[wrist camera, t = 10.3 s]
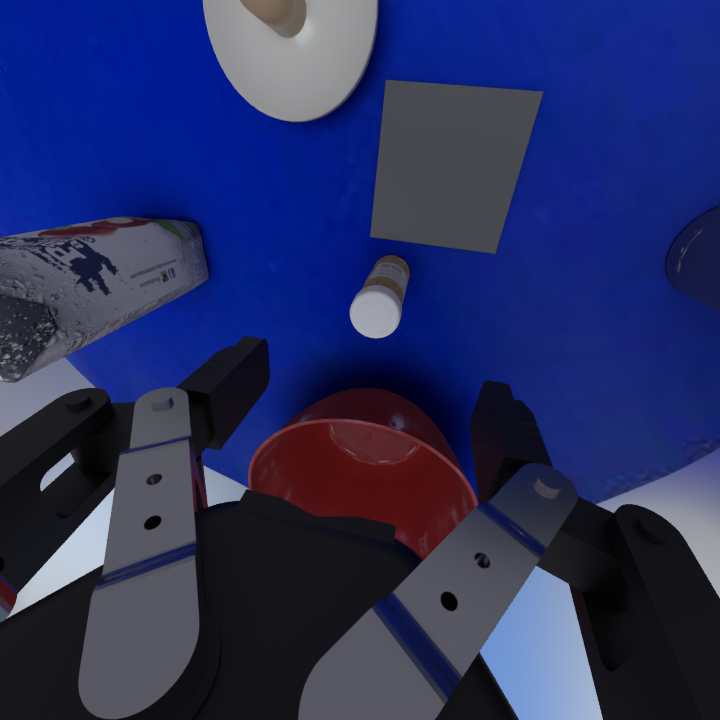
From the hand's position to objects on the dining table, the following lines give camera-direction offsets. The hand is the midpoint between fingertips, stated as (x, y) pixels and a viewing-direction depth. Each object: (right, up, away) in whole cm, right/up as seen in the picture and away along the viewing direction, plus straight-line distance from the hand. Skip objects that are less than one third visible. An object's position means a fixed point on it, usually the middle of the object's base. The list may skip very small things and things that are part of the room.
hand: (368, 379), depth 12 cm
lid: (-6, +28, +14) cm, 32 cm away
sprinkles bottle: (+4, +11, +28) cm, 31 cm away
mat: (+8, +20, +22) cm, 31 cm away
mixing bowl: (+2, -10, +41) cm, 43 cm away
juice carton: (-25, +16, +33) cm, 44 cm away
